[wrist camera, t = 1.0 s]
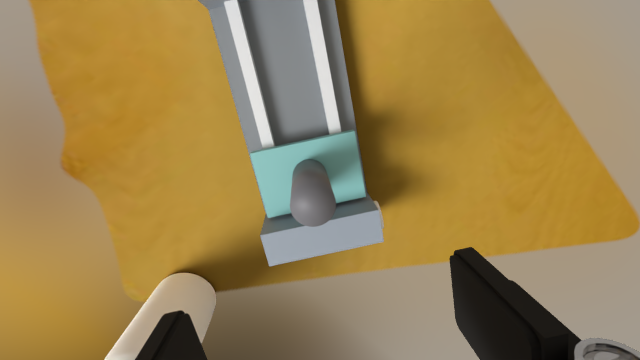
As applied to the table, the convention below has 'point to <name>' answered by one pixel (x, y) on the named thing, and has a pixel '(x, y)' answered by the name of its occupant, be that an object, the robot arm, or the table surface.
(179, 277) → the can
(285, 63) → the rail track
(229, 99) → the table surface
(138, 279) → the table surface
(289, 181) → the carriage
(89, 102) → the table surface
